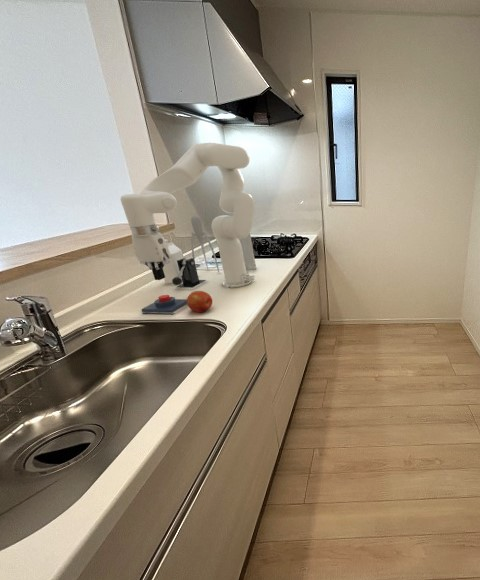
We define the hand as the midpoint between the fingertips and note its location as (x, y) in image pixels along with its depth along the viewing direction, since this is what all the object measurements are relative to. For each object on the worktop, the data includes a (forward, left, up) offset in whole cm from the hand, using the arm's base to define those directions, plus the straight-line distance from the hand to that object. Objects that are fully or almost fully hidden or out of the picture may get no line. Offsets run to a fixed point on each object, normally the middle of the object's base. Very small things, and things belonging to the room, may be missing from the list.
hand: (160, 278), depth 117 cm
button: (0, +1, -9) cm, 9 cm away
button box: (0, +1, -12) cm, 12 cm away
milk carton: (+18, -29, -13) cm, 37 cm away
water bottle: (-6, -51, -13) cm, 53 cm away
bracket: (+8, -25, -12) cm, 29 cm away
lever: (+8, -22, -6) cm, 24 cm away
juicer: (+10, -43, -13) cm, 46 cm away
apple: (-15, +2, -13) cm, 20 cm away
